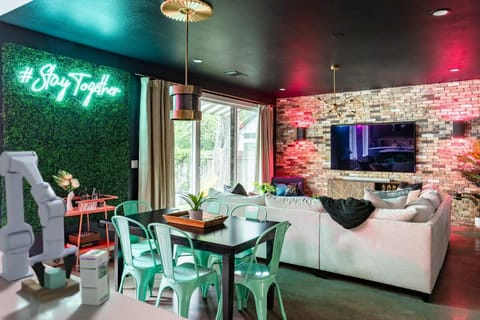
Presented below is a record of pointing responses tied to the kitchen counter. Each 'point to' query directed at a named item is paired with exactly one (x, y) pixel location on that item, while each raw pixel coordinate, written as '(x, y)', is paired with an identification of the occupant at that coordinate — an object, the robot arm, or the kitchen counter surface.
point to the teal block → (55, 278)
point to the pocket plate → (47, 295)
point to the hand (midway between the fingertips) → (55, 282)
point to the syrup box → (94, 277)
